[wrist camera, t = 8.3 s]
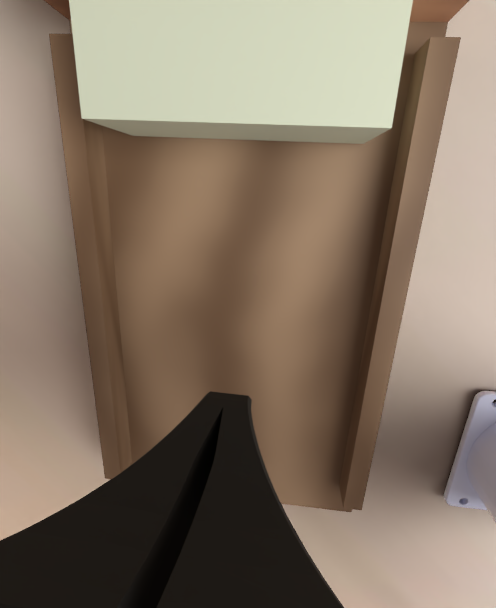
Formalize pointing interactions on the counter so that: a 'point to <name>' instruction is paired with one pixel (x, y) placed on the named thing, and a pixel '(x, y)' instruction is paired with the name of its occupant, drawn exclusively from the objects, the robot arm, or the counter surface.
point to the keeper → (241, 67)
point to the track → (254, 273)
